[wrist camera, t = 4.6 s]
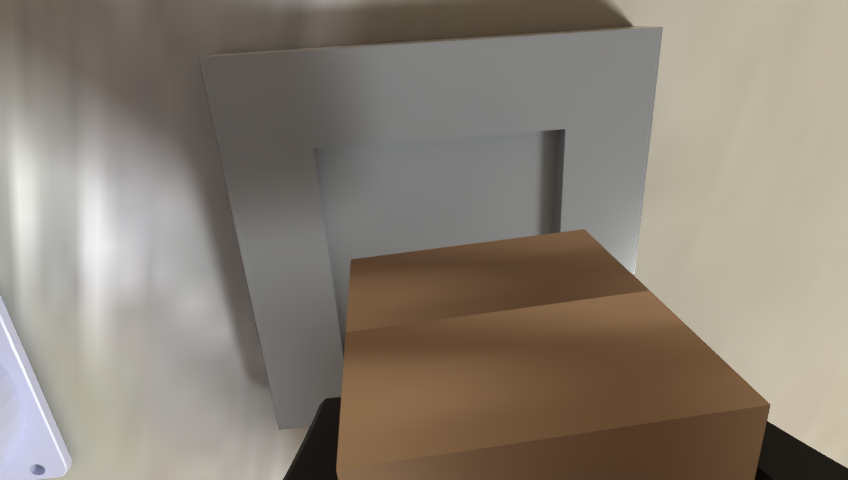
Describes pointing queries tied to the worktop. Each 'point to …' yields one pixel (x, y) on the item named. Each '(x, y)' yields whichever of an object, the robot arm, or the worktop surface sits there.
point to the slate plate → (418, 166)
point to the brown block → (532, 372)
